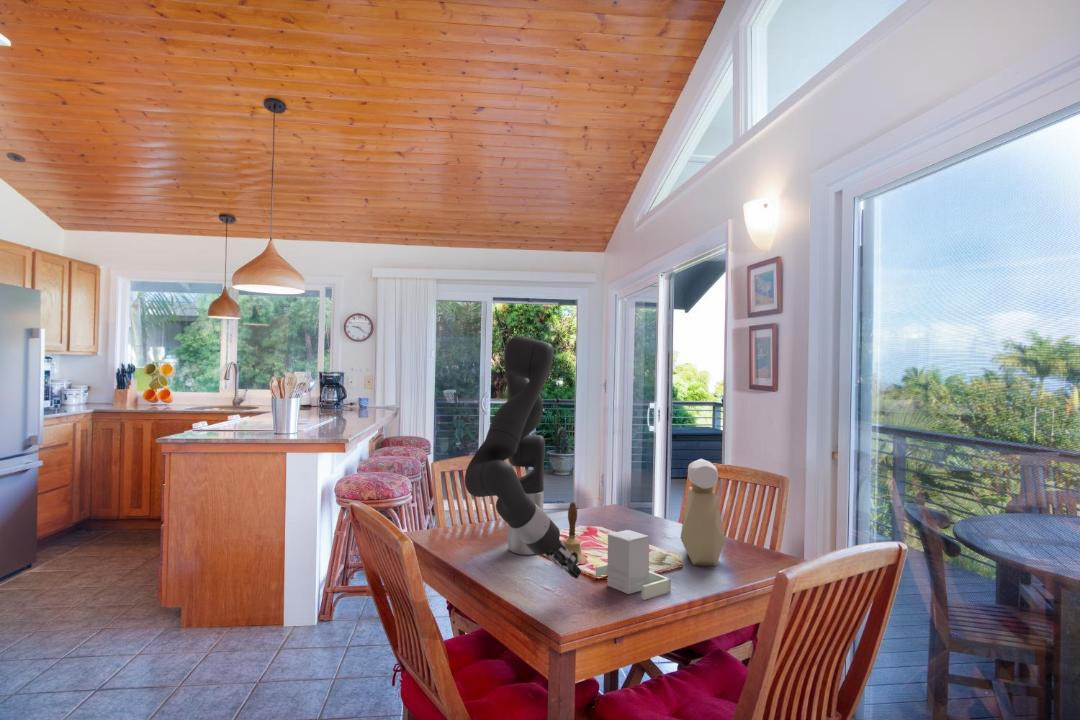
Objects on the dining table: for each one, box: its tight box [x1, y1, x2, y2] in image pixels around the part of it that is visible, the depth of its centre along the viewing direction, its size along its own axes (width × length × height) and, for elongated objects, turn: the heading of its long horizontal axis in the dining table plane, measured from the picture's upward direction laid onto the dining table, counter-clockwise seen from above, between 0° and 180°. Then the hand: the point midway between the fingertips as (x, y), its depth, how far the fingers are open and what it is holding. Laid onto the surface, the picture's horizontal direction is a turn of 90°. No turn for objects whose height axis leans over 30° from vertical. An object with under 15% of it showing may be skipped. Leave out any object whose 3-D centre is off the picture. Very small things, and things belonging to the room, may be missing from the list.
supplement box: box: [606, 529, 650, 595], centre depth 141 cm, size 7×7×13 cm
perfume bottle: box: [680, 458, 726, 567], centre depth 163 cm, size 12×24×28 cm, turn 173°
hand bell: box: [563, 501, 587, 563], centre depth 160 cm, size 8×8×16 cm
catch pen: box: [595, 563, 672, 601], centre depth 142 cm, size 9×17×3 cm, turn 36°
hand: (577, 574), depth 132 cm, fingers closed
